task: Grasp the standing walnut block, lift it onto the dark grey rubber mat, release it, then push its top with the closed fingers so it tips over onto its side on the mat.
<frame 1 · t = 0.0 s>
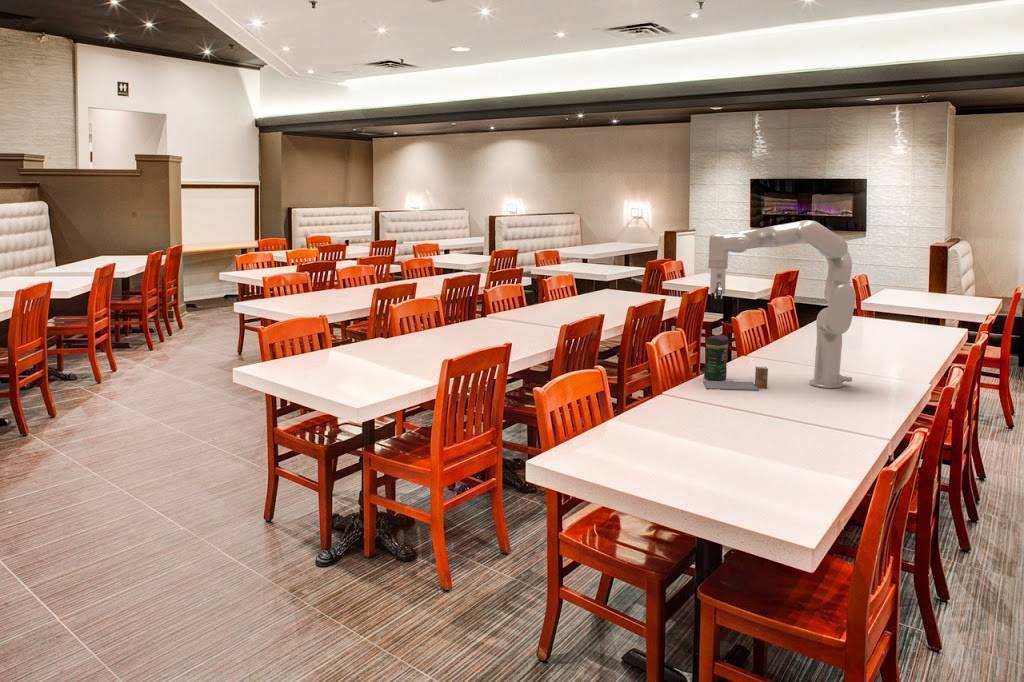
hand: (715, 307, 306), 31 cm above the table, fingers open, 9 cm apart
rubber mat: (729, 386, 304), on the table
coffee jar: (715, 379, 317), on the table
walnut block: (760, 387, 302), on the table
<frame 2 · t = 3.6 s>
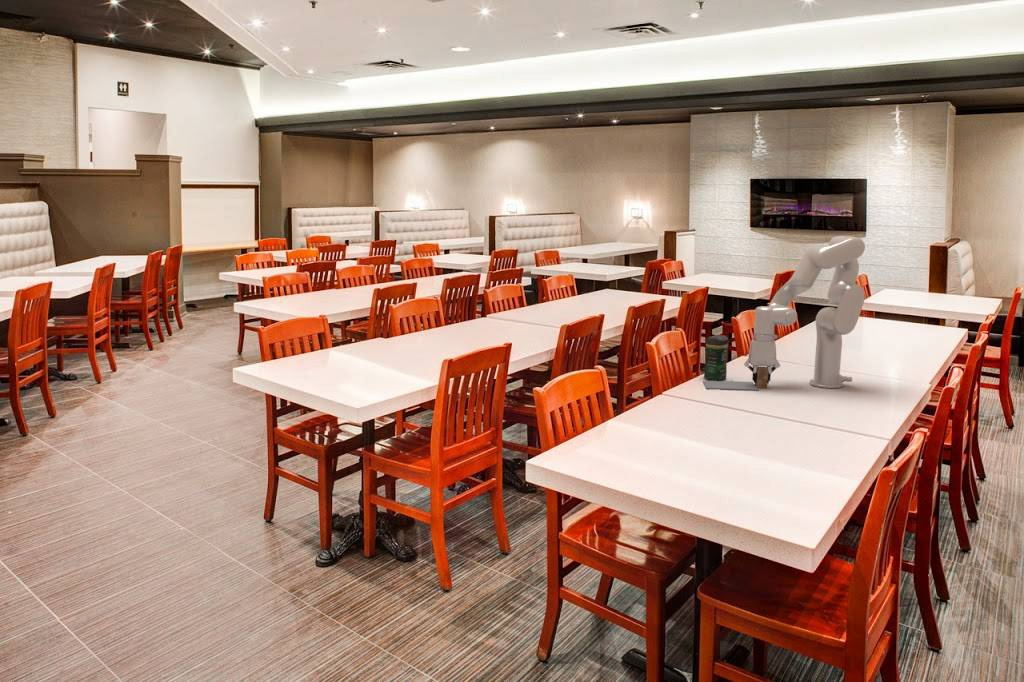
hand: (761, 382, 302), 2 cm above the table, fingers closed on walnut block, 4 cm apart
walnut block: (760, 387, 302), on the table, touching gripper
everything else where it was.
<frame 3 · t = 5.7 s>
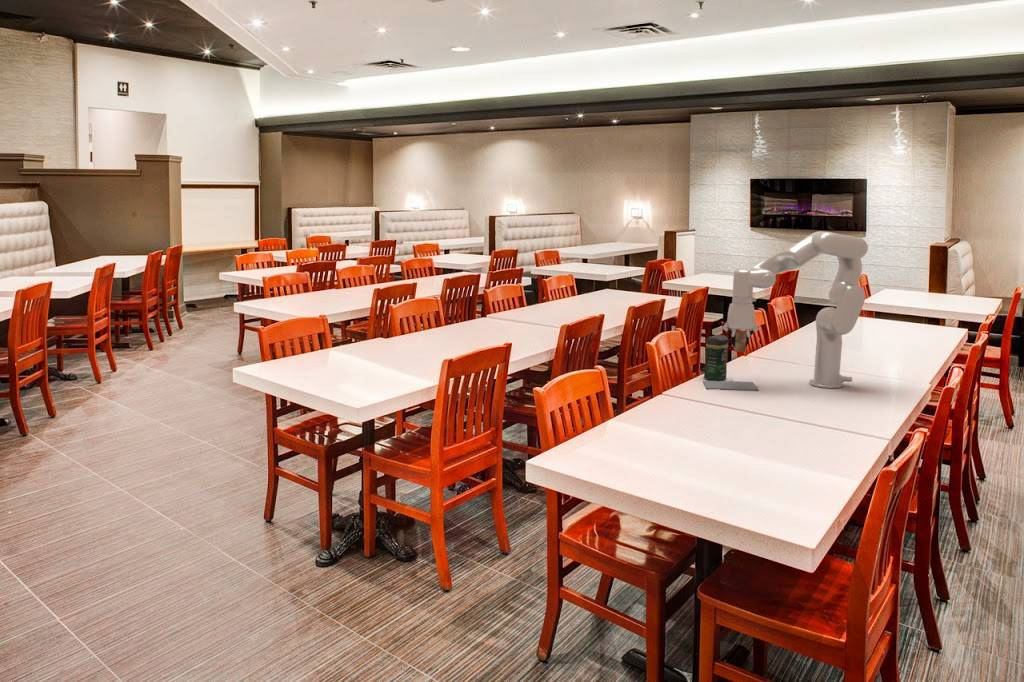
hand: (739, 345, 301), 17 cm above the table, fingers closed on walnut block, 4 cm apart
walnut block: (739, 350, 301), point 15 cm above the table, touching gripper
everything else where it was.
when the fingers open (4 cm above the table, at t = 8.2 s): walnut block drops 1 cm, resting on rubber mat.
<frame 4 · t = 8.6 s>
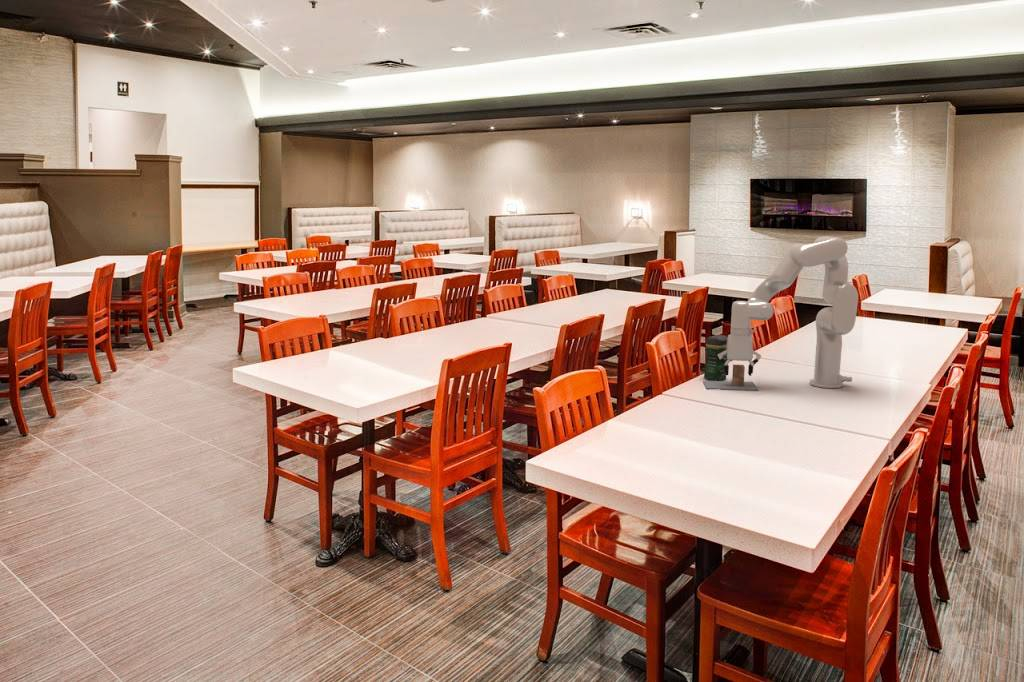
hand: (738, 374, 303), 5 cm above the table, fingers open, 8 cm apart
walnut block: (737, 385, 303), point 1 cm above the table, touching rubber mat
everything else where it was.
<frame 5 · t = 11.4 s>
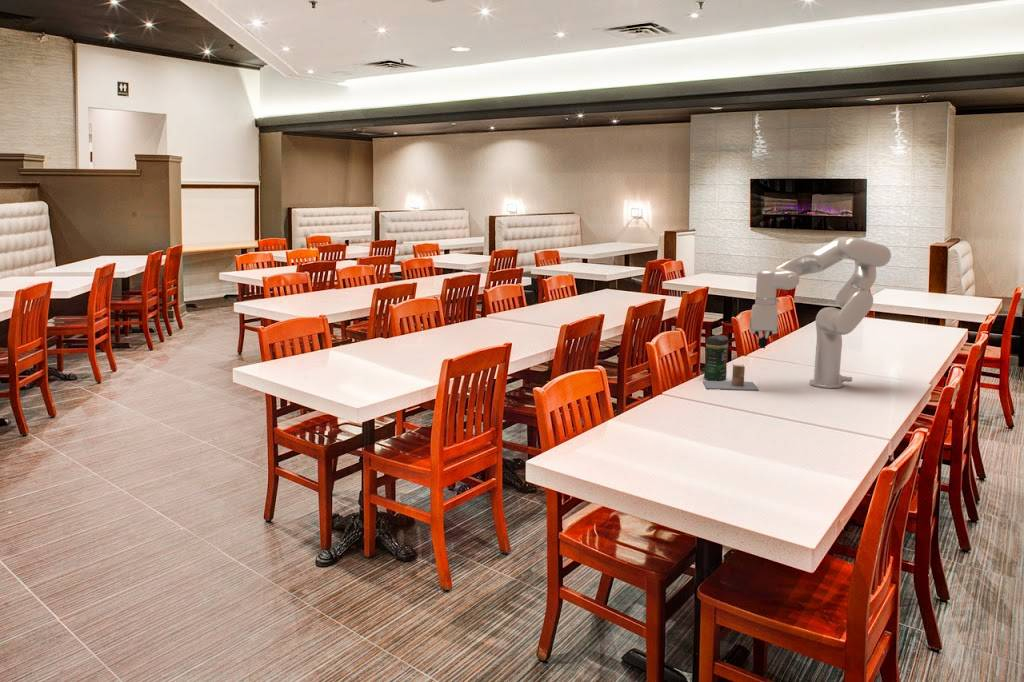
hand: (762, 347, 300), 16 cm above the table, fingers closed
nothing on the table moved.
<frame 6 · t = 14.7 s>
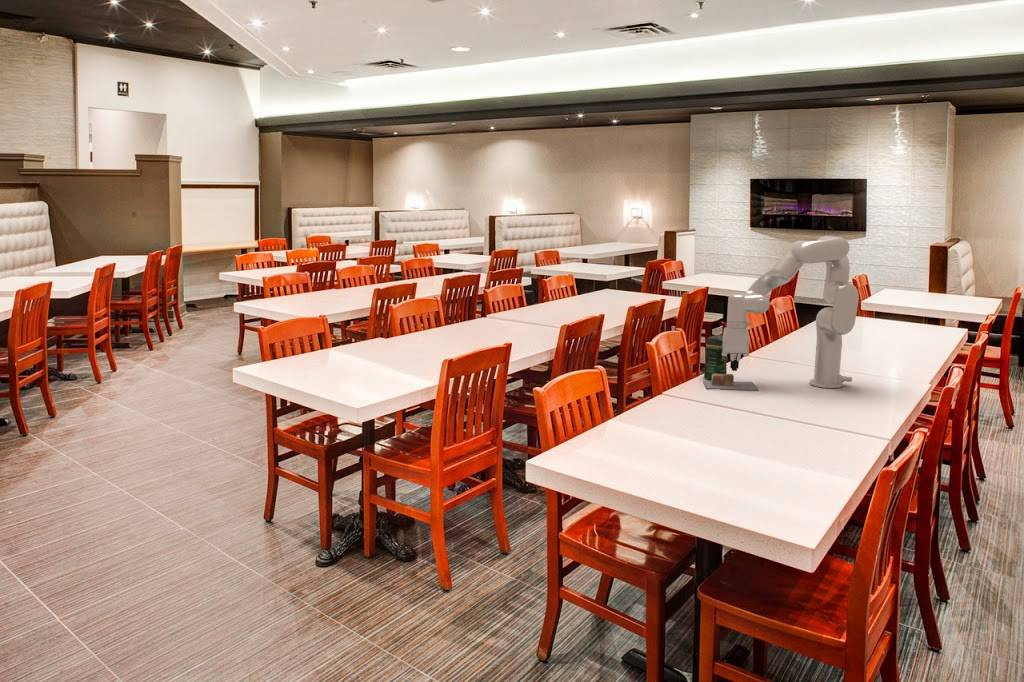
hand: (734, 370, 303), 7 cm above the table, fingers closed
walnut block: (732, 380, 303), point 3 cm above the table, tilted 90°, touching rubber mat
everything else where it was.
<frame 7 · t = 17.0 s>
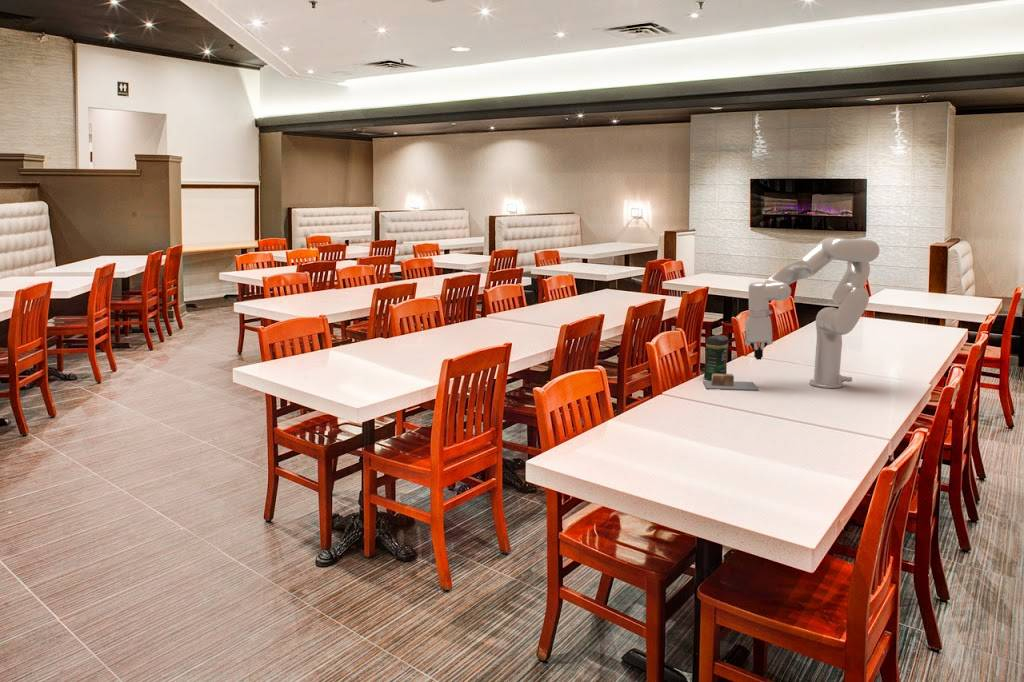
hand: (758, 358, 302), 11 cm above the table, fingers closed
nothing on the table moved.
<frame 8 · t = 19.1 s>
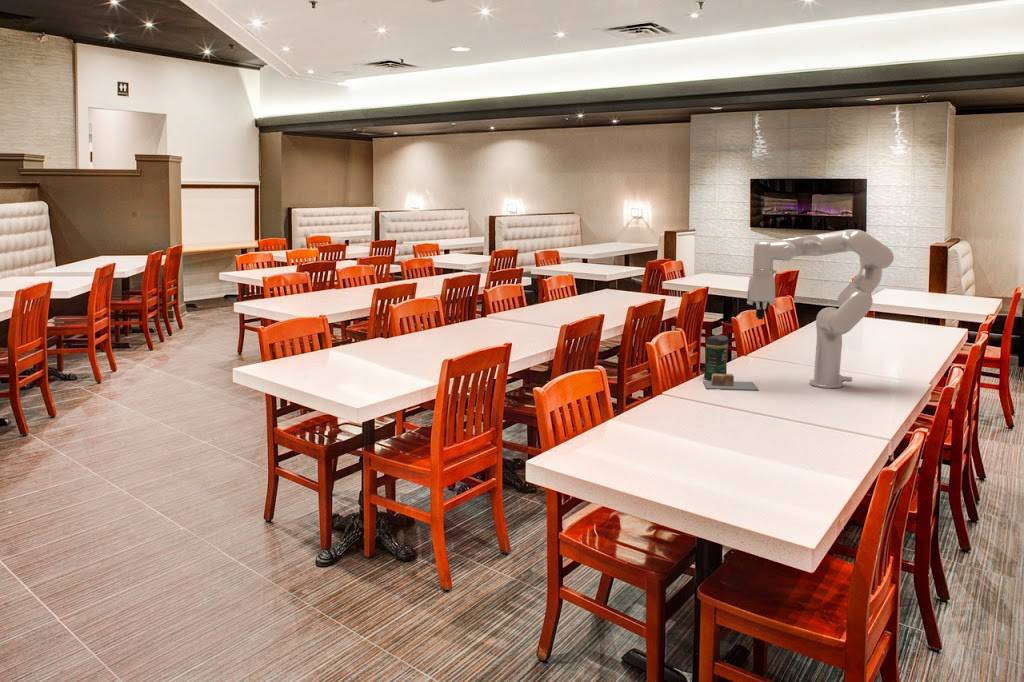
hand: (760, 318, 302), 27 cm above the table, fingers closed
nothing on the table moved.
at the end: walnut block tilted 90°; walnut block inside the target area (3.0 cm from its centre), point 2.6 cm above the table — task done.
